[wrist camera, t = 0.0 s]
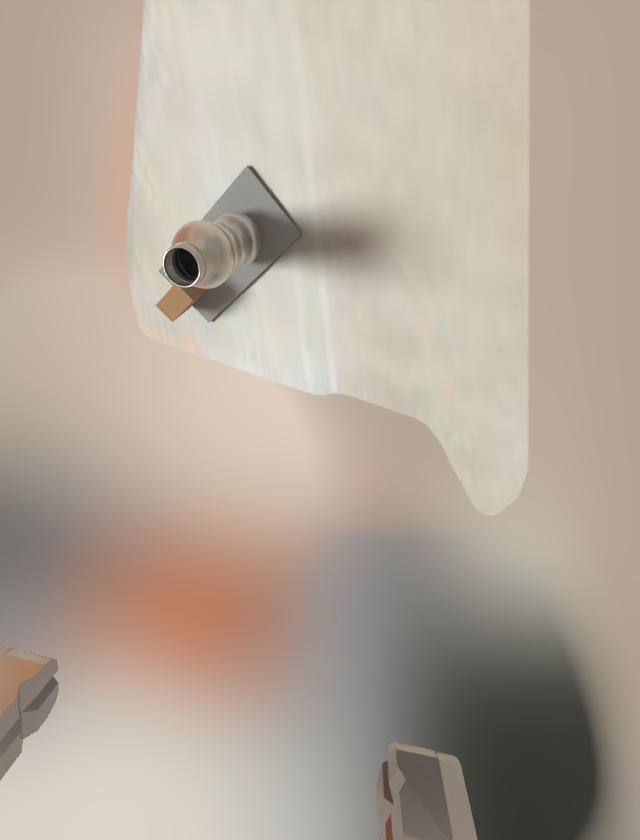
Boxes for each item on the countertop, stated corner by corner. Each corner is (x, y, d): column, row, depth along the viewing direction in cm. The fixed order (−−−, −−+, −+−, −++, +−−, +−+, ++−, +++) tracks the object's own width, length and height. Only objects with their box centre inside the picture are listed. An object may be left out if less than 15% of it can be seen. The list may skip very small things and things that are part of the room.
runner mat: (248, 165, 47) (230, 168, 42) (301, 234, 51) (291, 244, 46) (158, 272, 57) (134, 285, 52) (208, 323, 61) (191, 340, 55)
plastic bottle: (210, 247, 53) (138, 282, 36) (228, 198, 49) (157, 211, 32) (252, 272, 54) (201, 316, 37) (272, 226, 50) (226, 252, 34)
